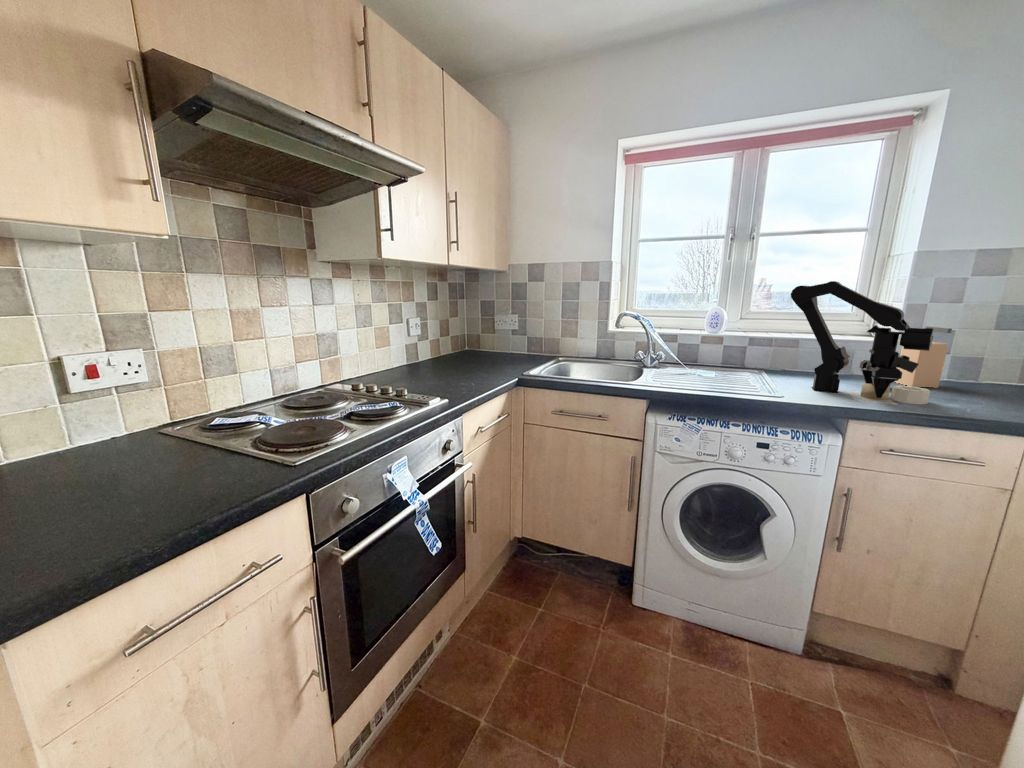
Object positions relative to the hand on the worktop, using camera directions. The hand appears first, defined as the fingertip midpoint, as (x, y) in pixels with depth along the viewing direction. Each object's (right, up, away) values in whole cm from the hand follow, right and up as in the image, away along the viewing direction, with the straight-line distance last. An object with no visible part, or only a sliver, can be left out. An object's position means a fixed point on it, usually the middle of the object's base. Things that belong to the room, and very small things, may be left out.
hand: (874, 394), depth 132 cm
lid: (0, -1, 0) cm, 1 cm away
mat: (-1, -1, +1) cm, 2 cm away
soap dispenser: (+33, +2, +17) cm, 37 cm away
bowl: (+7, -2, -4) cm, 9 cm away
